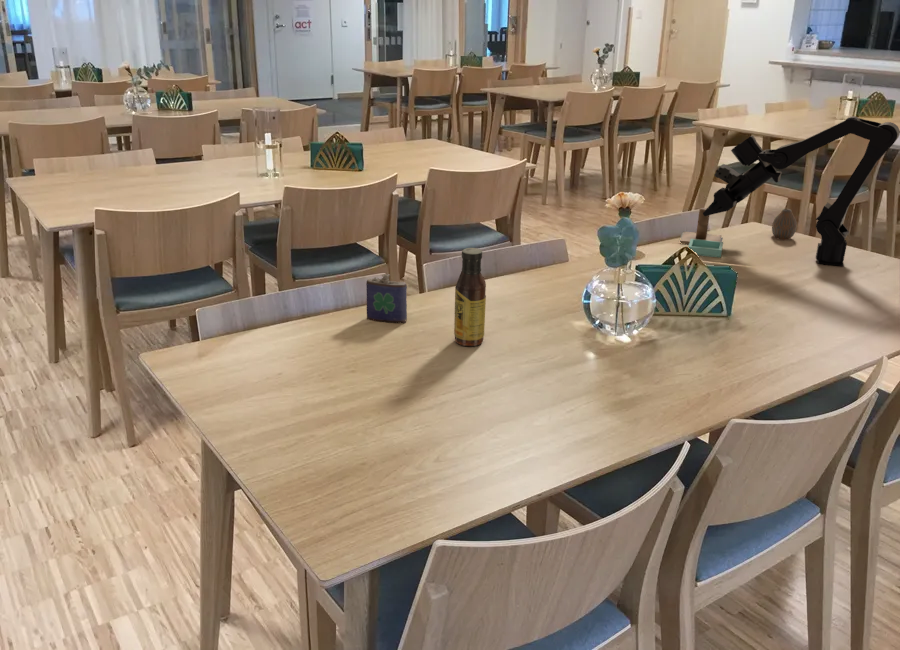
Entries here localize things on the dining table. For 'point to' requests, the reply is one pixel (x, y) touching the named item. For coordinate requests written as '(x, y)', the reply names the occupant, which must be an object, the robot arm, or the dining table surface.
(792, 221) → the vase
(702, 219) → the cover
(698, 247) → the dish
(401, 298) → the flask
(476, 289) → the sauce bottle
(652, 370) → the dining table surface
